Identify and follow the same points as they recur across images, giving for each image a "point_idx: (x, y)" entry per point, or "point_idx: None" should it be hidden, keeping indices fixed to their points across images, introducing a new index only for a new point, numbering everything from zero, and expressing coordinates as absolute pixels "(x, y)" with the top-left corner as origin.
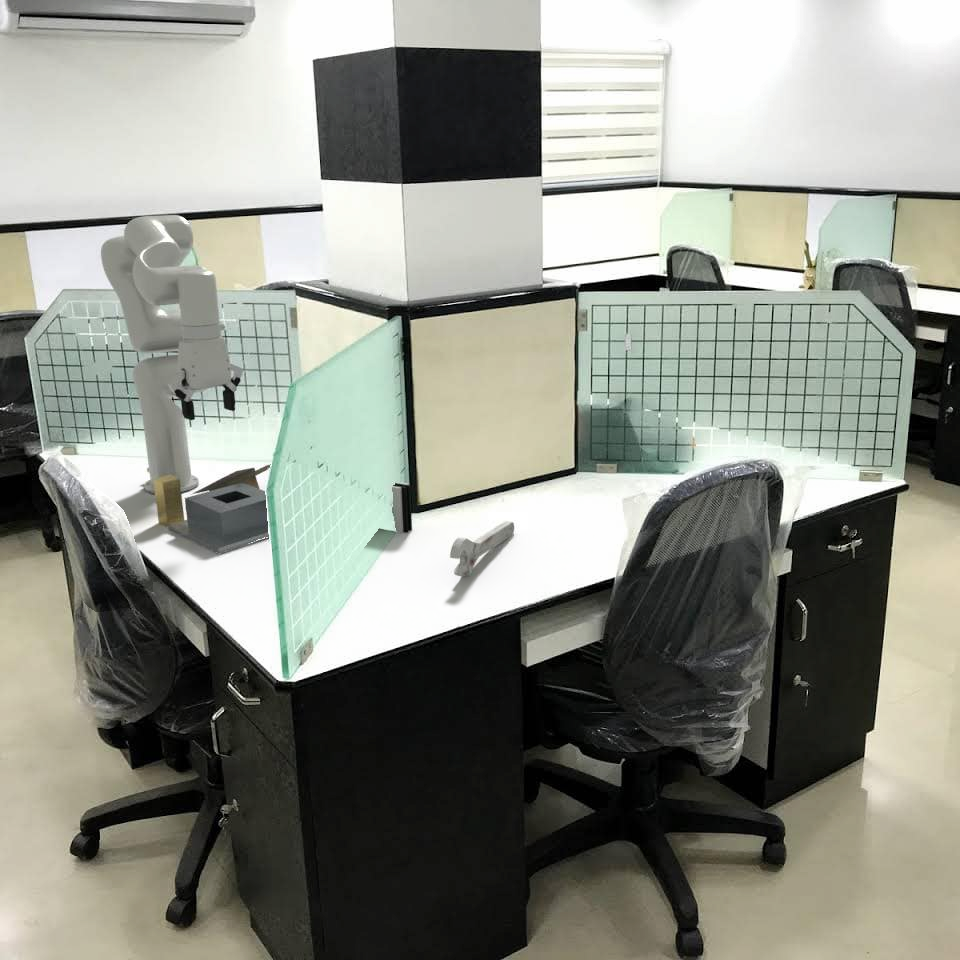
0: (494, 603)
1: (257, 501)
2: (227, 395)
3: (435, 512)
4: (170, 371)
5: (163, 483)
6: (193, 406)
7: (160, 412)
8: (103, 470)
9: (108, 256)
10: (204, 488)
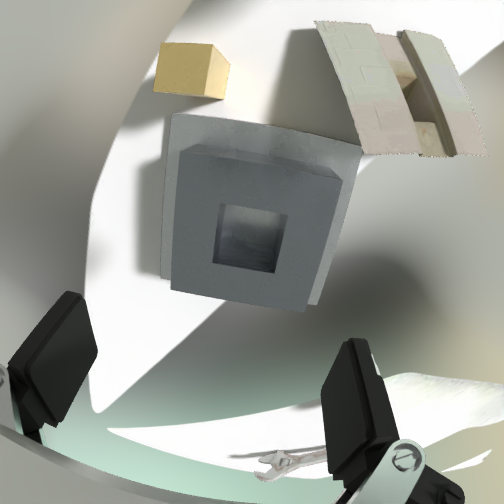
0: (247, 466)
1: (257, 302)
2: (338, 446)
3: (419, 378)
4: None
5: (156, 91)
6: (70, 402)
7: None
8: None
9: None
10: (336, 45)
